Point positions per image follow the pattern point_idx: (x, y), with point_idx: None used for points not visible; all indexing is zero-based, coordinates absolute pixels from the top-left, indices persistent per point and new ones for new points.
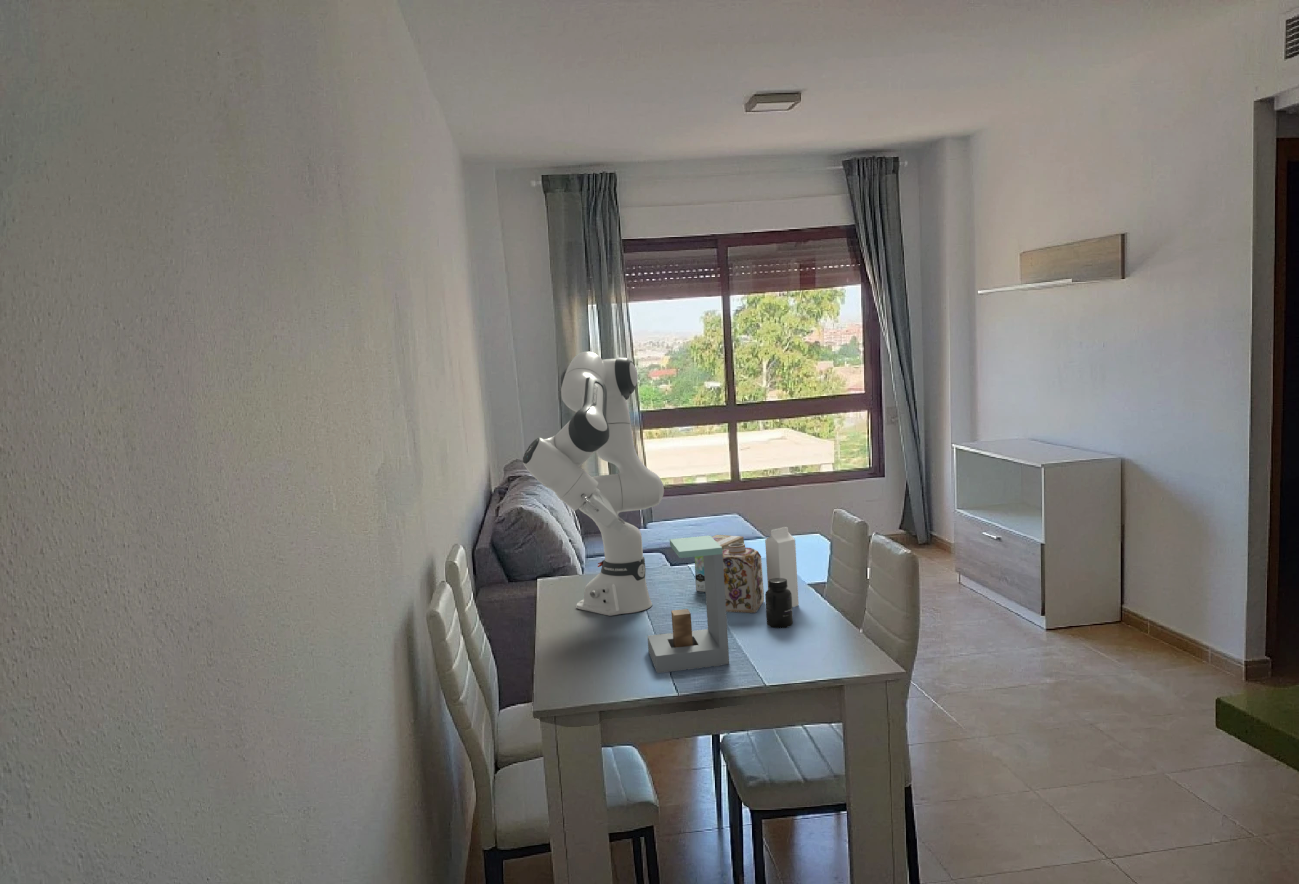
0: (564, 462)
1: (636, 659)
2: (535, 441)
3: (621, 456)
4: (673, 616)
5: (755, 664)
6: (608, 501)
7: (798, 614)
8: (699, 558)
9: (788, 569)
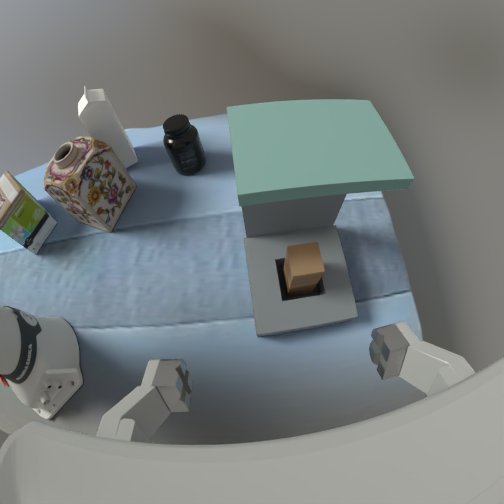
0: None
1: (289, 354)
2: None
3: None
4: (317, 273)
5: None
6: (23, 438)
7: (161, 147)
8: (12, 229)
9: (118, 121)
